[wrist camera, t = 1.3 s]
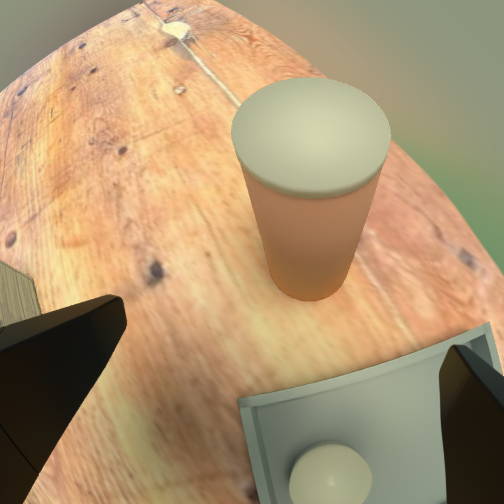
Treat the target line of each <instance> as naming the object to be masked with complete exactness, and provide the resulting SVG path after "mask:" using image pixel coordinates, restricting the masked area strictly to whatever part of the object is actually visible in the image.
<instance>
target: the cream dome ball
mask: <svg viewBox="0 0 504 504" xmlns="http://www.w3.org/2000/svg"><path fill="white" fill-rule="evenodd" d="M371 485H372V474H371V470H370V468H369V466H368V464H367V463H366V462H365V460H364V459H363V458H362V457H361V456H360V455H359V454H358V452H357V451H356V450H355V449H354V448H353V447H352V446H350V445H348V444H346V443H344V442H341V441H336V440H325V441H320V442H316V443H314V444H312V445H310V446H308V447H307V448H305V449H304V450H303V451H302V452H301V453H300V454H299V455H298V456H297V458H296V459H295V461H294V463H293V466H292V470H291V477H290V484H289V492H290V497H291V499H292V501H293V503H294V504H362V503H363V502H364V501H365V499H366V498H367V496H368V494H369V492H370V489H371Z"/></svg>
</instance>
